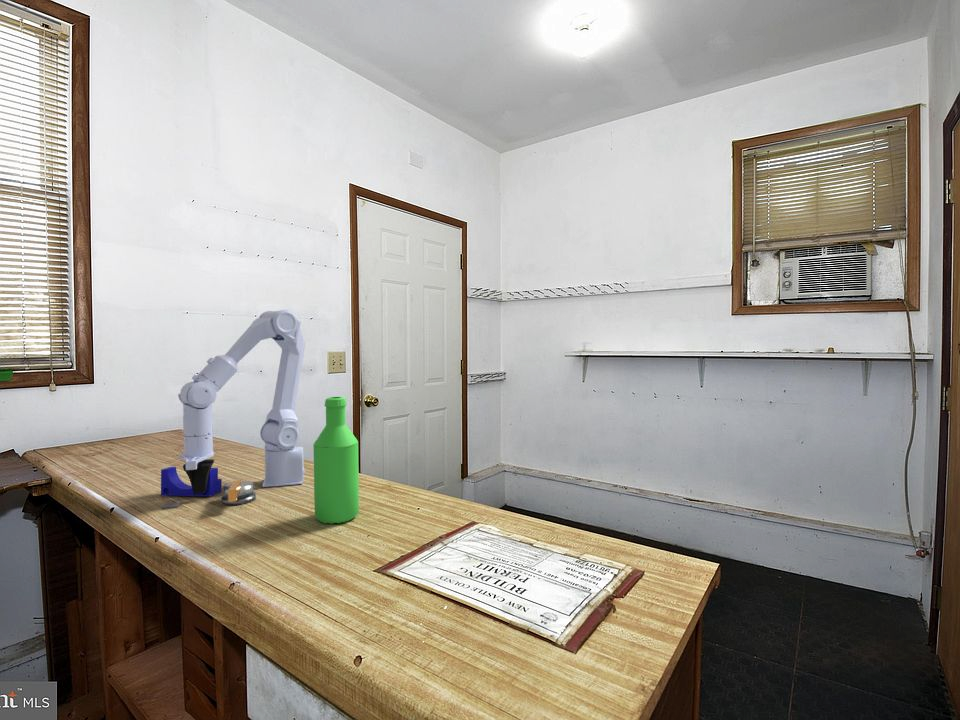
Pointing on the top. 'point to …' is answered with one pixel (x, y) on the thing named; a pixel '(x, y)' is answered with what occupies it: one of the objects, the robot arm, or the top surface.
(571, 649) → the top surface
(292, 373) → the robot arm
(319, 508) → the bottle
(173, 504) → the grey block
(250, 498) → the dial housing
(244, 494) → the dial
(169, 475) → the cable clip
